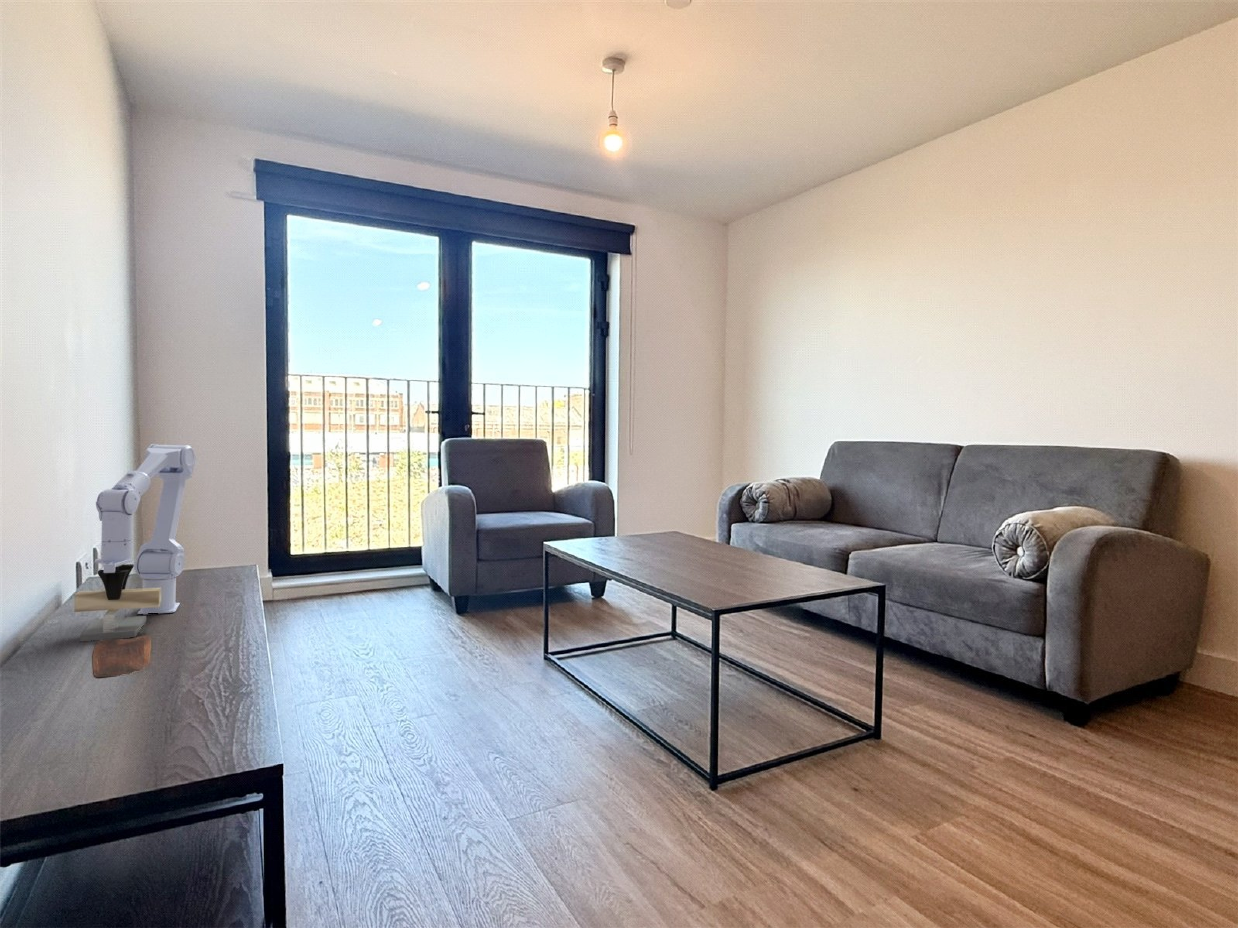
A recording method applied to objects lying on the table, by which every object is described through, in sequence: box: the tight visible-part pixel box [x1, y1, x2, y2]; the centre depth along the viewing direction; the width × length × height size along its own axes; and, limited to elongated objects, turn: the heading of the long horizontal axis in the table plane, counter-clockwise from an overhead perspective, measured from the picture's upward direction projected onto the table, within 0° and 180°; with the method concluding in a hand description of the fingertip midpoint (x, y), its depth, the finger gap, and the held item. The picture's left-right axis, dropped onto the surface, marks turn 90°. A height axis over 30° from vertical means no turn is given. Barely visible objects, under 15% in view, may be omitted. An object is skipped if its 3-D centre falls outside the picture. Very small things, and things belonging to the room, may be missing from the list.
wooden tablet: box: [92, 634, 152, 678], centre depth 139 cm, size 26×2×10 cm
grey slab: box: [79, 615, 147, 642], centre depth 156 cm, size 14×10×2 cm
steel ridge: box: [102, 609, 127, 633], centre depth 156 cm, size 13×2×4 cm, turn 27°
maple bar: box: [73, 587, 161, 613], centre depth 156 cm, size 3×16×4 cm, turn 117°
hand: (115, 597), depth 156 cm, fingers closed on maple bar, 3 cm apart
